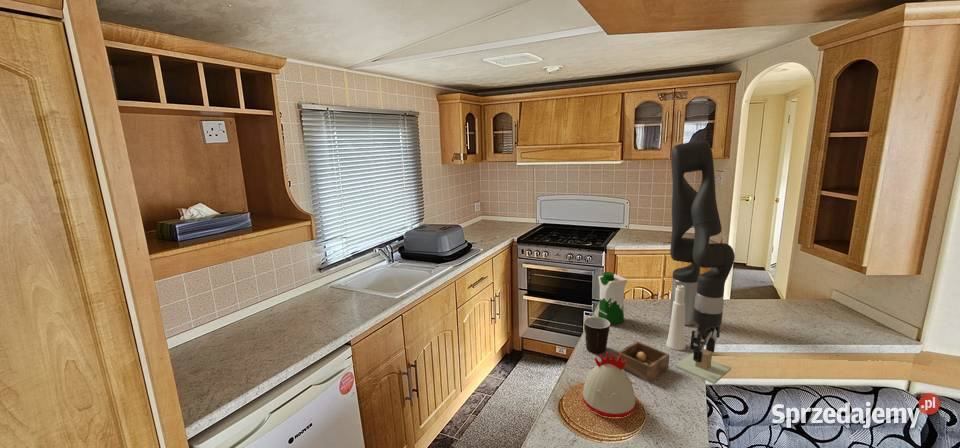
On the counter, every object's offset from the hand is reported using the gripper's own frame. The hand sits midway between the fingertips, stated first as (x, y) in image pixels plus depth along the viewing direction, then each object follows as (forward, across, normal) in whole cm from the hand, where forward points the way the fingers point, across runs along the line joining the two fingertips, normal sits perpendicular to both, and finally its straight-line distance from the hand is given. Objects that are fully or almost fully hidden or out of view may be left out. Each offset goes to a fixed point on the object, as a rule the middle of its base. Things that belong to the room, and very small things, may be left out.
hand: (703, 356), depth 122 cm
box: (+4, +14, -12) cm, 19 cm away
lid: (+5, 0, 0) cm, 5 cm away
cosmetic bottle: (+4, -7, -12) cm, 15 cm away
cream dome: (+4, +36, -9) cm, 37 cm away
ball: (+2, +12, -14) cm, 18 cm away
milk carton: (+4, -7, -38) cm, 39 cm away
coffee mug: (+4, +17, -28) cm, 33 cm away
